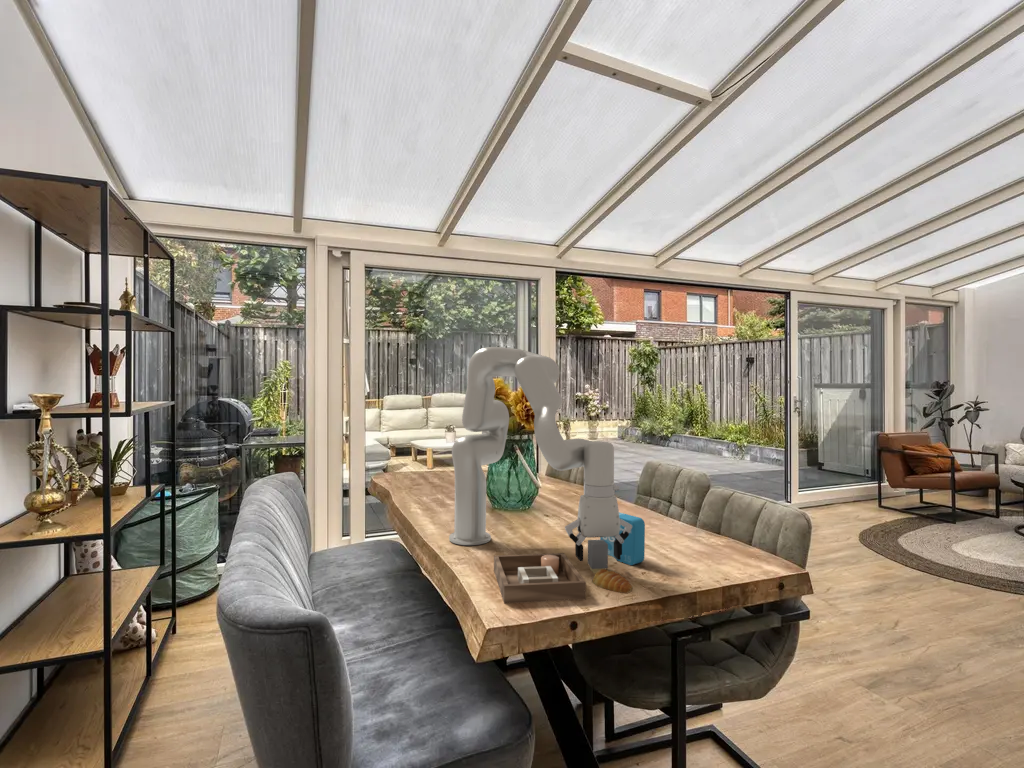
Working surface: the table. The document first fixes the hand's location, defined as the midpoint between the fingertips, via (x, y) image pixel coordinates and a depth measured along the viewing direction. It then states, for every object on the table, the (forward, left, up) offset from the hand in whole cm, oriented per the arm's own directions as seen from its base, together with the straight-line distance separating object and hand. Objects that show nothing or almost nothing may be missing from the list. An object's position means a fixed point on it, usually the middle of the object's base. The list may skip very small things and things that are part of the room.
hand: (598, 558), depth 136 cm
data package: (-10, +10, -4) cm, 15 cm away
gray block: (0, 0, -4) cm, 4 cm away
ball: (+1, -13, -3) cm, 13 cm away
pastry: (+9, 0, -4) cm, 10 cm away
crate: (+7, -17, -4) cm, 19 cm away
